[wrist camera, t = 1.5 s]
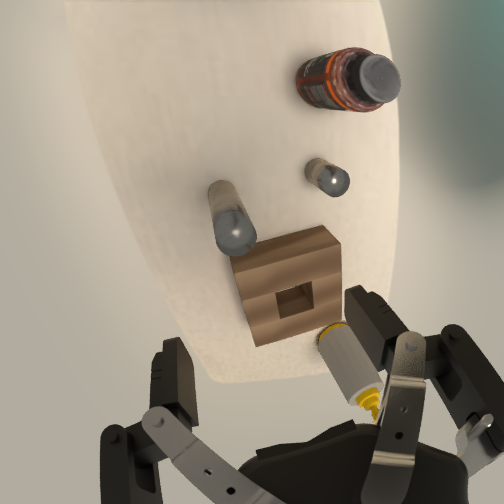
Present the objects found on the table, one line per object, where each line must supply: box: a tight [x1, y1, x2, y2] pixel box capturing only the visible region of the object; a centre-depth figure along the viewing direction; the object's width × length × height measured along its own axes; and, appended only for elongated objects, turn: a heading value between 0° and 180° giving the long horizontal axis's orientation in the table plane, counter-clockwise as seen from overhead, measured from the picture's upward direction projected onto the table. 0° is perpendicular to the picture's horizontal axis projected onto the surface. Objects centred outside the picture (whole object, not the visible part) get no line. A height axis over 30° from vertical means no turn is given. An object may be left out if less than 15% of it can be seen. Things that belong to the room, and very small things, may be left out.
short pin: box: [305, 158, 350, 197], centre depth 29 cm, size 3×3×5 cm
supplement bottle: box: [297, 47, 401, 112], centre depth 21 cm, size 6×6×11 cm
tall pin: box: [208, 180, 257, 256], centre depth 26 cm, size 3×3×11 cm
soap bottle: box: [318, 323, 384, 423], centre depth 38 cm, size 7×7×18 cm
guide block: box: [230, 225, 342, 347], centre depth 35 cm, size 12×12×5 cm
